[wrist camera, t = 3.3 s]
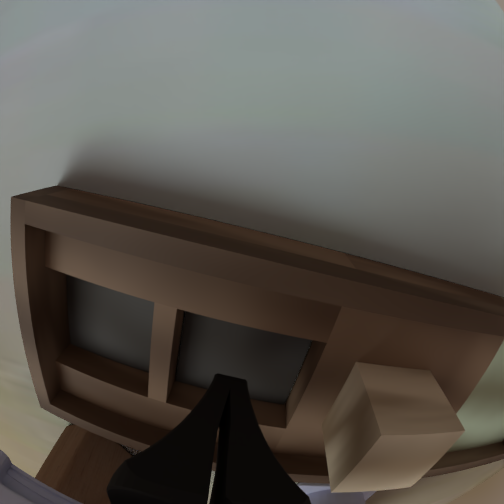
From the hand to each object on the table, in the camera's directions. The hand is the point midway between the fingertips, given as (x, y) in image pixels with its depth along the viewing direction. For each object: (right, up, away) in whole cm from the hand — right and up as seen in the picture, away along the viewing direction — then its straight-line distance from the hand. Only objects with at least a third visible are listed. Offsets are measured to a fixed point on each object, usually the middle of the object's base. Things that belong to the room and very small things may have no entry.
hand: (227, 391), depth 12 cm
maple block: (+8, -1, +1) cm, 8 cm away
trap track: (+8, -1, +3) cm, 8 cm away
